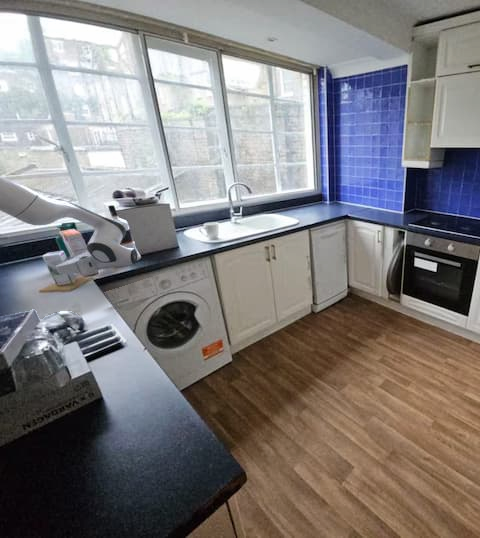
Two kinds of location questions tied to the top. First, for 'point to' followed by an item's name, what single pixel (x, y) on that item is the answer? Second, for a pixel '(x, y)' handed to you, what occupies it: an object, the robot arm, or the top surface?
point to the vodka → (128, 238)
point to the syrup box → (58, 259)
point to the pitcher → (59, 239)
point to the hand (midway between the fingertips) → (61, 262)
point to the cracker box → (75, 244)
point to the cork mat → (68, 287)
